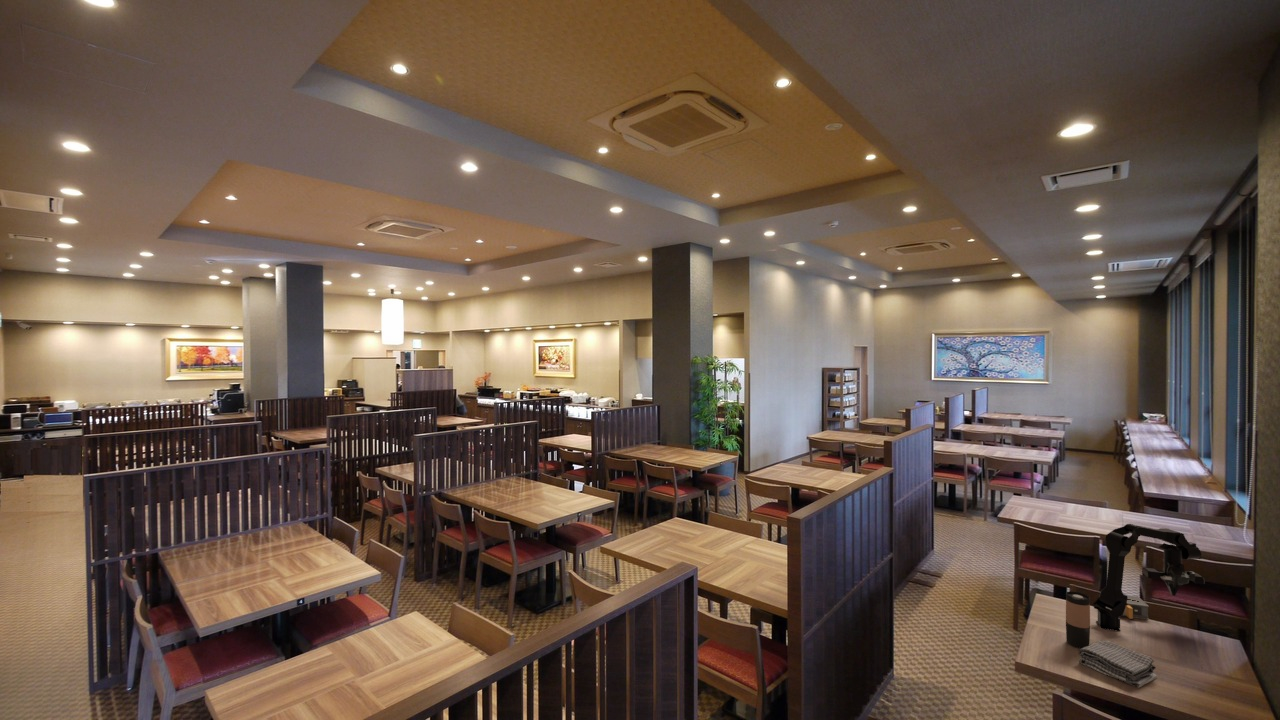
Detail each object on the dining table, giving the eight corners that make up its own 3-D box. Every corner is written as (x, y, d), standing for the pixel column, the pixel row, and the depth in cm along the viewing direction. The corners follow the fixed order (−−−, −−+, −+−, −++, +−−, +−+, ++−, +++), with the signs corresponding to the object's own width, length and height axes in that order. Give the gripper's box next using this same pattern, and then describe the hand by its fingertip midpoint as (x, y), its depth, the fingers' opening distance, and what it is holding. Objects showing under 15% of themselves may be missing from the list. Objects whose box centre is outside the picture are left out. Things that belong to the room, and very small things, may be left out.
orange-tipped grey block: (1105, 613, 246) (1105, 598, 246) (1097, 604, 255) (1097, 590, 255) (1148, 619, 240) (1148, 604, 240) (1138, 610, 249) (1138, 595, 249)
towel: (1099, 655, 212) (1099, 635, 212) (1160, 680, 195) (1160, 658, 195) (1077, 664, 206) (1077, 644, 206) (1137, 691, 189) (1137, 669, 189)
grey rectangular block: (1109, 615, 242) (1109, 605, 242) (1106, 611, 246) (1106, 601, 246) (1132, 618, 239) (1132, 608, 239) (1128, 615, 243) (1128, 604, 243)
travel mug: (1081, 640, 222) (1081, 591, 222) (1095, 650, 215) (1095, 599, 215) (1061, 639, 223) (1061, 590, 223) (1074, 649, 216) (1074, 599, 215)
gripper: (1154, 563, 232) (1154, 599, 232) (1212, 569, 225) (1212, 607, 225) (1141, 554, 242) (1142, 589, 242) (1197, 559, 235) (1197, 596, 235)
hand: (1173, 595), depth 236 cm, fingers closed
